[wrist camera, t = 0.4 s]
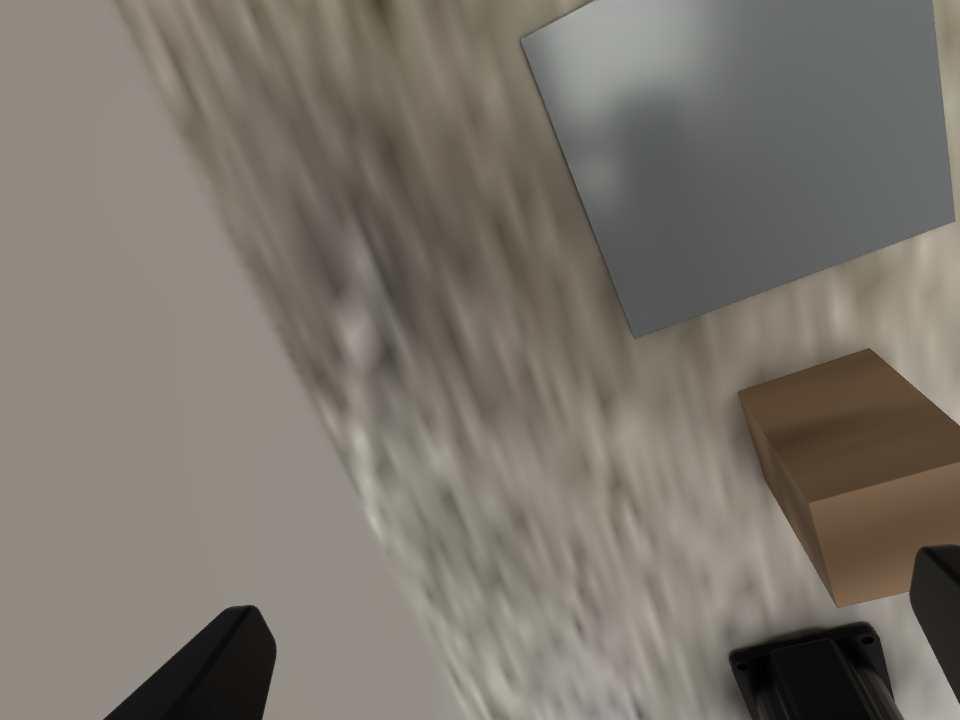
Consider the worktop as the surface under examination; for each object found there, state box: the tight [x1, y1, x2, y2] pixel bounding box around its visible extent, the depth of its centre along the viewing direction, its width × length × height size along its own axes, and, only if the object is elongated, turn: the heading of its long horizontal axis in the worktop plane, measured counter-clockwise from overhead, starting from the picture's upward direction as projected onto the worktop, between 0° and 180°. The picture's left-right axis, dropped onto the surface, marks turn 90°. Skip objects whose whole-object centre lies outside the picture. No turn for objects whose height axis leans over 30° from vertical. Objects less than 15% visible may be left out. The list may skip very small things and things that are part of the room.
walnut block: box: [738, 348, 960, 608], centre depth 19 cm, size 4×4×6 cm
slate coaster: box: [520, 0, 955, 339], centre depth 17 cm, size 10×10×1 cm
